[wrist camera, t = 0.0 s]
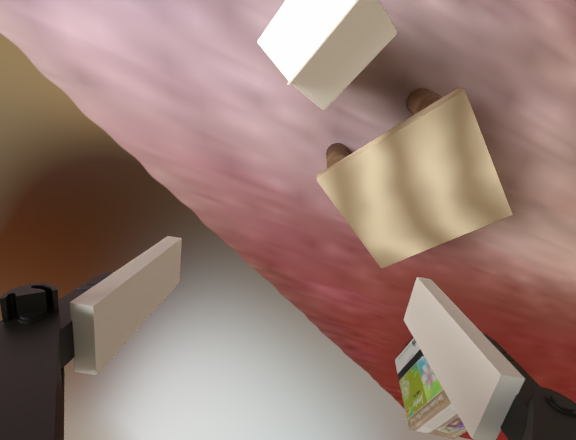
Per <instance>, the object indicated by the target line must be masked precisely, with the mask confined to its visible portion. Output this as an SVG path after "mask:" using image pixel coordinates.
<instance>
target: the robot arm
mask: <svg viewBox="0 0 576 440" xmlns="http://www.w3.org/2000/svg"><path fill="white" fill-rule="evenodd" d="M181 241H182V239H181V238H177V237H171V236H167V237H166V238H164V239H163V240H161V241H160V242H158V243H157V244H156V245H154V246H153V247H151V248H150V249H148V250H147V251H145V252H144V253H142V254H141V255H139V256H138V257H137V258H135V259H133V260H132V261H130V262H129V263H127V264H126V265H125V266H123V267H121V268H120V269H119V270H117V271H115V272H114V273H110V272H107V273H105V274H102V275H99V276H96V277H94V278H93V279H91V280H90V281H88V282H86V284H83V285H82V286H80V287H78V288H77V290H74V291H72V292H71V293H69V294H67V295H66V296H64V297H63V298H61V299H60V300H58V291H57V288H56V286H54V285H51V284H45V283H39V284H29V285H25V286H20V287H17V288H14V289H12V290H10V291H8V292H6V293H5V294H3V295H2V296H1V298H0V305H1V311H2V318H3V321H0V440H64V366H65V365H66V364H67V363H68V362H69V361H70V360H72V358H74V369H75V371H76V372H82V373H87V374H93V375H97V373H99V371H100V370H101V369H102V368H103V367H104V366H105V365H106V364H107V363H108V361H109V360H110V359H111V358H112V357H113V356H114V355H115V354H116V352H117V351H118V350H119V349H120V348H121V347H122V346H123V345H124V344H125V342H126V341H127V340H128V339H129V338H130V337H131V336H132V335H133V334H134V333H135V331H136V330H137V329H138V328H139V327H140V326H141V325H142V324H143V323H144V321H145V320H146V319H147V318H148V317H149V316H150V315H151V314H152V312H153V311H154V310H155V309H156V308H157V307H158V306H159V305H160V304H161V302H162V301H163V300H164V299H165V298H166V297H167V296H168V295H169V293H170V292H171V291H172V290H173V289H174V288H175V287H176V286H177V285H178V284H179V279H180V259H181ZM404 322H405V323H406V325H407V327H408V328H409V330H410V332H411V334H412V335H413V337H414V339H415V341H416V342H417V344H418V346H419V348H420V349H421V351H422V353H423V355H424V356H425V358H426V360H427V362H428V363H429V365H430V367H431V369H432V370H433V372H434V374H435V375H436V377H437V379H438V381H439V382H440V384H441V386H442V388H443V389H444V391H445V393H446V395H447V396H448V398H449V400H450V402H451V403H452V405H453V407H454V409H455V410H456V412H457V414H458V415H459V417H460V419H461V421H462V422H463V424H464V426H465V428H466V429H467V431H468V433H469V435H470V436H471V438H472V439H474V440H496V438H497V436H498V434H499V432H500V430H501V429H502V431H503V432H504V434H505V435H506V437H507V438H508V440H576V404H575V403H574V402H573V401H572V400H570V399H568V398H567V397H565V396H563V395H562V394H560V393H558V392H555V391H553V390H551V389H547V388H543V387H540V386H539V385H538V384H537V383H536V382H535V381H534V380H533V379H532V378H531V377H530V376H529V375H528V374H527V373H526V371H525V370H524V369H523V368H522V367H521V366H520V365H519V364H518V363H517V362H514V359H513V358H512V357H511V356H510V355H509V354H507V352H506V351H505V350H504V349H503V348H502V347H501V346H500V345H499V344H498V343H497V342H496V341H494V340H493V339H491V338H490V337H488V336H487V335H486V334H483V333H481V332H480V330H479V329H478V328H477V327H476V326H475V325H474V324H473V323H472V322H471V321H470V320H469V319H468V318H467V317H466V316H465V315H464V314H463V313H462V312H461V311H460V309H459V308H458V307H457V306H456V305H455V304H454V303H453V302H452V301H451V300H450V299H449V298H448V297H447V296H446V295H445V294H444V293H443V292H442V291H441V289H440V288H439V287H438V286H437V285H436V284H435V283H434V282H433V281H432V280H431V279H426V278H420V277H417V278H416V282H415V285H414V288H413V291H412V294H411V298H410V301H409V304H408V307H407V310H406V314H405V317H404Z"/></svg>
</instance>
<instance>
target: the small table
mask: <svg viewBox="0 0 576 440" xmlns="http://www.w3.org/2000/svg"><path fill="white" fill-rule="evenodd" d="M407 108H408V110H409V111H410V112H411V113H412V114H414V115H413V116H411V117H410V118H408V119H407V120H405V121H403V122H402V123H400V124H399V125H397V126H395V127H394V128H392V129H390V130H389V131H387V132H386V133H384V134H382V135H381V136H379V137H378V138H376V139H374V140H373V141H371V142H369V143H368V144H366V145H365V146H363V147H361V148H360V149H358V150H356V151H355V152H353V153H352V154H350V155H348V151H347V148H346V147H345V146H344V145H343V144H340V143H335V144H332V145H331V146H330V147H329V148H328V149H327V153H326V155H327V169H326V170H324V171H322V172H321V173H319V174H318V175H317V181H318V183H319V184H320V186H321V187H322V188H323V190H324V191H325V192H326V194H327V195H328V196H329V198H330V199H331V200H332V202H333V203H334V205H335V206H336V207H337V209H338V210H339V211H340V213H341V214H342V215H343V217H344V218H345V220H346V221H347V222H348V224H349V225H350V226H351V228H352V229H353V230H354V232H355V233H356V234H357V236H358V237H359V239H360V240H361V241H362V243H363V244H364V245H365V247H366V248H367V249H368V251H369V252H370V254H371V255H372V256H373V258H374V259H375V260H376V262H377V263H378V264H379V266H380V267H381V268H384V267H386V266H389V265H391V264H394V263H396V262H398V261H401V260H403V259H406V258H408V257H411V256H413V255H416V254H418V253H420V252H423V251H425V250H428V249H430V248H433V247H435V246H438V245H440V244H442V243H445V242H447V241H450V240H452V239H455V238H457V237H460V236H462V235H464V234H467V233H469V232H472V231H474V230H477V229H479V228H482V227H484V226H486V225H489V224H491V223H494V222H496V221H499V220H501V219H504V218H506V217H508V216H511V215H513V214H512V212H511V209H510V206H509V204H508V201H507V199H506V196H505V193H504V191H503V188H502V186H501V183H500V180H499V178H498V175H497V172H496V170H495V167H494V165H493V162H492V159H491V157H490V154H489V151H488V149H487V146H486V144H485V141H484V138H483V136H482V133H481V131H480V128H479V125H478V123H477V120H476V117H475V115H474V112H473V110H472V107H471V104H470V102H469V99H468V97H467V94H466V91H465V90H463V89H461V88H457V89H455V90H454V91H452V92H450V93H449V94H447V95H445V96H444V97H441V96H439V95H437V94H435V93H433V92H431V91H429V90H427V89H425V88H420V89H417V90H415V91H414V92H412V93H411V94H410V96H409V97H408V100H407Z"/></svg>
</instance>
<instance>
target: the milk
mask: <svg viewBox="0 0 576 440" xmlns="http://www.w3.org/2000/svg"><path fill="white" fill-rule="evenodd" d="M396 34H397V31H396V29H395V27H394V25H393V24H392V22H391V20H390V18H389V17H388V15H387V13H386V12H385V10H384V8H383V6H382V5H381V3H380V1H379V0H285V2H284V3H283V5H282V6H281V8H280V9H279V10H278V12H277V13H276V15H275V16H274V18H273V19H272V21H271V22H270V23H269V25H268V26H267V28H266V29H265V31H264V32H263V34H262V35H261V36H260V38H259V39H258V41H257V42H258V44H259V45H260V47H261V48H262V49H263V50H264V52H265V53H266V54H267V55H268V56H269V58H270V59H271V60H272V61H273V63H274V64H275V65H276V66H277V68H278V69H279V70H280V71H281V72H282V74H283V75H284V76H285V77H286V79H287V80H288V81H289V82H288V83H287V85H289V84H290V83H291V84H292V85H293V86H295V87H296V88H297V89H298V90H299V91H300V92H302V93H303V94H304V95H305V96H306V97H308V98H309V99H310V100H311V101H312V102H313V103H315V104H316V105H317V106H318V107H319V108H321V109H322V110H325V109H326V108H327V107H328V106H329V105H330V104H331V103H332V102H333V101H334V100H335V99H336V98H337V97H338V96H339V95H340V93H341V92H342V91H343V90H344V89H345V88H346V87H347V86H348V85H349V84H350V83H351V82H352V81H353V80H354V79H355V78H356V77H357V76H358V75H359V74H360V72H361V71H362V70H363V69H364V68H365V67H366V66H367V65H368V64H369V63H370V62H371V61H372V60H373V59H374V58H375V57H376V56H377V55H378V54H379V52H380V51H381V50H382V49H383V48H384V47H385V46H386V45H387V44H388V43H389V42H390V41H391V40H392V39H393V38H394V37H395V36H396Z"/></svg>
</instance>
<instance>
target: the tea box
mask: <svg viewBox="0 0 576 440" xmlns="http://www.w3.org/2000/svg"><path fill="white" fill-rule="evenodd" d="M395 363H396V368H397V373H398V377H399V383H400V388H401V392H402V397H403V402H404V406H405V411H406V416H407V421H408V425H409V429H410V430H414V431H419V432H424V433H429V434H434V435H439V436H443V437H448V438H452V439H455V438H457V437H458V436H460V435H462V434H463V433H465V432H467V429H466V428H465V426H464V424H463V422H462V421H461V419H460V417H459V415H458V414H457V412H456V410H455V409H454V407H453V405H452V403H451V402H450V400H449V398H448V396H447V395H446V393H445V391H444V389H443V388H442V386H441V384H440V382H439V381H438V379H437V377H436V375H435V374H434V372H433V370H432V369H431V367H430V365H429V363H428V362H427V360H426V358H425V356H424V355H423V353H422V351H421V349H420V348H419V346H418V344H417V342H416V341H415V339H414V338H413V339H412V340H411V342H410V343H409V344H408V345H407V346H406V347H405V349H404V350H403V351H402V352H401V353H400V354H399V356H398V357H397V358H396V359H395Z"/></svg>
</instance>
